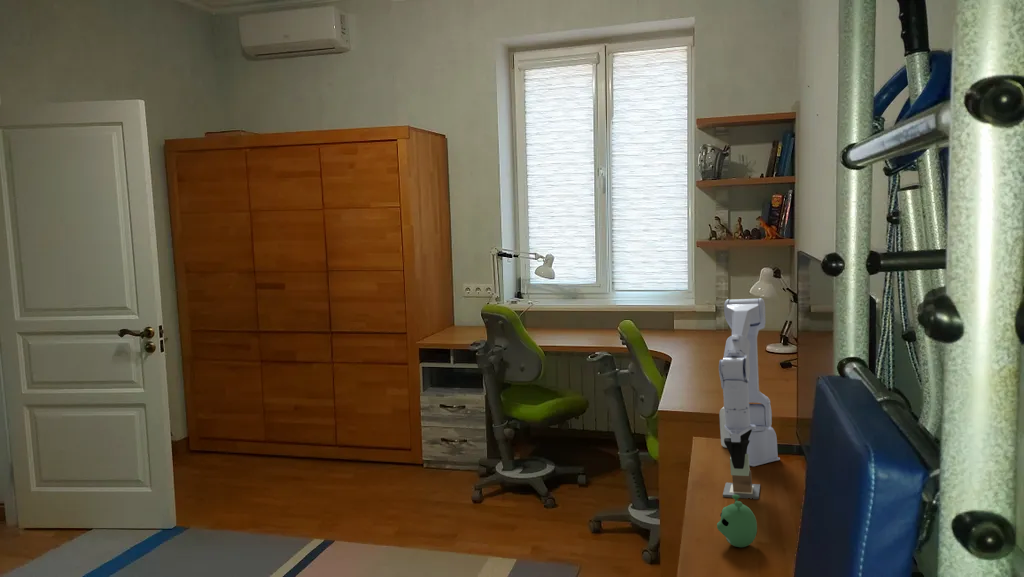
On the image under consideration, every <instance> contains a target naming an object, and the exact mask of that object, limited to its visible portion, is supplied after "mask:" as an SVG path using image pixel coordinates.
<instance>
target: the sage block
mask: <svg viewBox="0 0 1024 577" xmlns="http://www.w3.org/2000/svg"><path fill="white" fill-rule="evenodd" d="M729 464H730V466H729V467H730V476H732V475H738V476H749V471H750V469H751V468H750V467H751V466H750V465H749V454H745V463H744V468H743V469H735V468H734V466H733V463H732V460H731V456H730V458H729Z"/></svg>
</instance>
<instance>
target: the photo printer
mask: <svg viewBox="0 0 1024 577" xmlns="http://www.w3.org/2000/svg"><path fill="white" fill-rule="evenodd" d="M718 415H719V430H720V444H721V446H722V447H723V448H726V449H728V448H727V447H726V445H725V443H724V438H731V436H730V434H729V433H728V432H727V431H726V430H725V427H724V425H725V413H724V406H723V407H722V408H720V410H719V414H718Z"/></svg>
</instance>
